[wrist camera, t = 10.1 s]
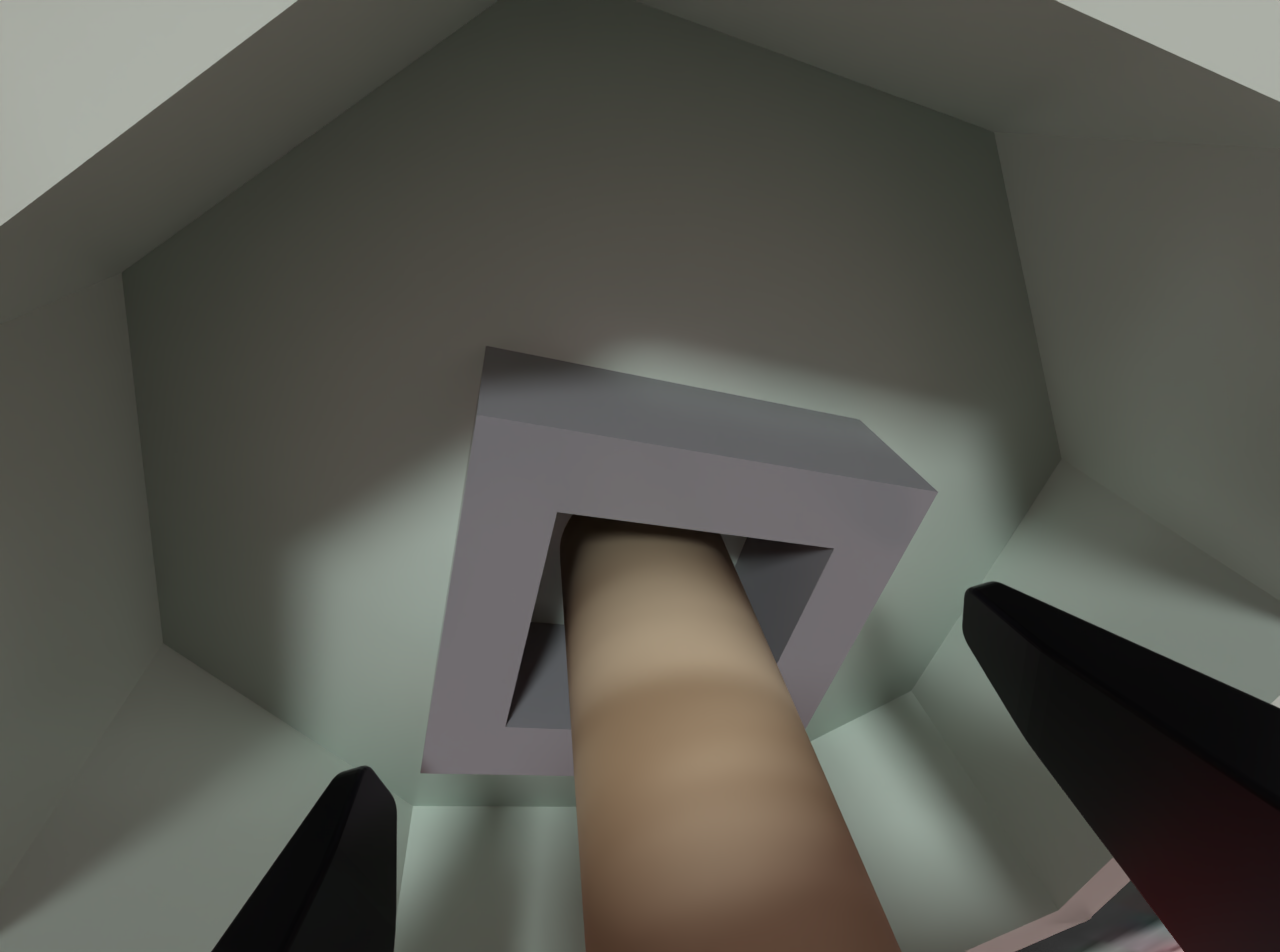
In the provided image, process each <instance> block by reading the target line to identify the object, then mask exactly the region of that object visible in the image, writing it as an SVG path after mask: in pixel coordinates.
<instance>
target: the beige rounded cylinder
mask: <svg viewBox="0 0 1280 952" xmlns="http://www.w3.org/2000/svg"><path fill="white" fill-rule="evenodd" d="M560 566H561V581H562V596H563V612H564V627H565V642H566V658H567V673H568V688H569V704H570V719H571V734H572V750H573V765H574V780H575V796H576V811H577V826H578V842H579V857H580V873H581V888H582V903H583V919H584V934H585V949H586V952H901V949H900V947H899V945H898V942H897V940H896V938H895V936H894V933H893V931H892V929H891V926H890V924H889V922H888V919H887V917H886V915H885V913H884V910H883V908H882V906H881V903H880V901H879V899H878V896H877V894H876V892H875V889H874V887H873V885H872V883H871V880H870V878H869V876H868V873H867V871H866V869H865V866H864V864H863V862H862V859H861V857H860V855H859V853H858V850H857V848H856V846H855V843H854V841H853V839H852V836H851V834H850V832H849V829H848V827H847V825H846V823H845V820H844V818H843V816H842V813H841V811H840V809H839V806H838V804H837V802H836V800H835V797H834V795H833V793H832V790H831V788H830V786H829V783H828V781H827V779H826V776H825V774H824V772H823V770H822V767H821V765H820V763H819V760H818V758H817V756H816V753H815V751H814V749H813V746H812V744H811V742H810V740H809V737H808V735H807V733H806V730H805V728H804V726H803V723H802V721H801V719H800V717H799V714H798V712H797V710H796V707H795V705H794V703H793V700H792V698H791V696H790V693H789V691H788V689H787V687H786V684H785V682H784V680H783V677H782V675H781V673H780V670H779V668H778V666H777V663H776V661H775V659H774V657H773V654H772V652H771V650H770V647H769V645H768V643H767V640H766V638H765V636H764V634H763V631H762V629H761V627H760V624H759V622H758V620H757V617H756V615H755V613H754V610H753V608H752V606H751V604H750V601H749V599H748V597H747V594H746V592H745V590H744V587H743V585H742V583H741V580H740V578H739V576H738V574H737V571H736V569H735V567H734V564H733V562H732V560H731V557H730V555H729V553H728V550H727V548H726V546H725V544H724V541H723V539H722V537H721V534H720V533H712V532H705V531H697V530H690V529H682V528H674V527H667V526H659V525H652V524H644V523H636V522H629V521H621V520H614V519H606V518H598V517H591V516H583V515H576V514H573V515H572V516H571V518H570V519H569V521H568V523H567V525H566V527H565V528H564V531H563V534H562V537H561V542H560Z"/></svg>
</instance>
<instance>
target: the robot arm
mask: <svg viewBox="0 0 1280 952" xmlns="http://www.w3.org/2000/svg"><path fill="white" fill-rule="evenodd" d="M962 631H963V635H964V638H965V641H966V643H967V645H968V646H969V648H970V650H971V651H972V653H973V655H974V656H975V658H976V660H977V661H978V663H979V665H980V666H981V668H982V669H983V671H984V673H985V674H986V676H987V678H988V679H989V681H990V683H991V684H992V686H993V688H994V689H995V691H996V693H997V694H998V696H999V698H1000V699H1001V701H1002V703H1003V704H1004V706H1005V708H1006V709H1007V711H1008V713H1009V714H1010V716H1011V718H1012V719H1013V721H1014V723H1015V724H1016V726H1017V727H1018V729H1019V730H1020V732H1021V734H1022V735H1023V737H1024V738H1025V740H1026V741H1027V743H1028V744H1029V745H1030V747H1031V748H1032V750H1033V751H1034V752H1035V754H1036V755H1037V756H1038V758H1039V759H1040V760H1041V762H1042V763H1043V764H1044V766H1045V767H1046V768H1047V770H1048V771H1049V772H1050V774H1051V775H1052V776H1053V778H1054V779H1055V780H1056V782H1057V783H1058V784H1059V786H1060V787H1061V788H1062V790H1063V791H1064V792H1065V794H1066V795H1067V796H1068V798H1069V799H1070V800H1071V802H1072V803H1073V804H1074V806H1075V807H1076V808H1077V810H1078V811H1079V812H1080V814H1081V815H1082V816H1083V818H1084V819H1085V820H1086V822H1087V823H1088V824H1089V826H1090V827H1091V828H1092V830H1093V831H1094V832H1095V834H1096V835H1097V836H1098V838H1099V839H1100V840H1101V842H1102V843H1103V844H1104V846H1105V847H1106V848H1107V850H1108V851H1109V852H1110V854H1111V855H1112V856H1113V858H1114V859H1115V860H1116V862H1117V863H1118V864H1119V866H1120V867H1121V868H1122V870H1123V871H1124V872H1125V874H1126V875H1127V876H1128V878H1129V879H1130V880H1131V882H1132V883H1133V884H1134V886H1135V887H1136V888H1137V890H1138V891H1139V892H1140V894H1141V895H1142V896H1143V898H1144V899H1145V900H1146V902H1147V903H1148V904H1149V906H1150V907H1151V908H1152V910H1153V911H1154V912H1155V914H1156V915H1157V916H1158V918H1159V919H1160V920H1161V922H1162V923H1163V924H1164V926H1165V927H1166V928H1167V930H1168V931H1169V932H1170V934H1171V935H1172V936H1173V938H1174V939H1175V940H1176V942H1177V943H1178V944H1179V946H1180V947H1181V948H1182V950H1183V951H1184V952H1280V708H1279V707H1277V706H1274V705H1272V704H1270V703H1268V702H1265V701H1263V700H1261V699H1259V698H1256V697H1254V696H1252V695H1250V694H1248V693H1245V692H1243V691H1241V690H1239V689H1236V688H1234V687H1232V686H1230V685H1228V684H1225V683H1223V682H1221V681H1219V680H1216V679H1214V678H1212V677H1210V676H1207V675H1205V674H1203V673H1201V672H1199V671H1196V670H1194V669H1192V668H1190V667H1187V666H1185V665H1183V664H1181V663H1179V662H1176V661H1174V660H1172V659H1170V658H1167V657H1165V656H1163V655H1161V654H1158V653H1156V652H1154V651H1152V650H1150V649H1147V648H1145V647H1143V646H1141V645H1138V644H1136V643H1134V642H1132V641H1130V640H1127V639H1125V638H1123V637H1121V636H1118V635H1116V634H1114V633H1112V632H1109V631H1107V630H1105V629H1103V628H1101V627H1098V626H1096V625H1094V624H1092V623H1089V622H1087V621H1085V620H1083V619H1081V618H1078V617H1076V616H1074V615H1072V614H1069V613H1067V612H1065V611H1063V610H1060V609H1058V608H1056V607H1054V606H1052V605H1049V604H1047V603H1045V602H1043V601H1040V600H1038V599H1036V598H1034V597H1032V596H1029V595H1027V594H1025V593H1023V592H1020V591H1018V590H1016V589H1014V588H1011V587H1009V586H1007V585H1005V584H1003V583H1000V582H996V581H990V582H986V583H982V584H979V585H975V586H972V587H969V588H968V589H967V590H966V592H965V594H964V604H963V619H962ZM396 906H397V807H396V803H395V800H394V797H393V795H392V794H391V793H390V791H389V790H388V789H387V787H386V786H385V785H384V783H383V782H382V781H381V779H380V778H379V777H378V776H377V774H376V773H375V772H374V770H373V769H372V768H371V767H369V766H366V765H364V766H359V767H356V768H352V769H349V770H346V771H343V772H340V773H339V774H337V775H336V776H335V777H334V778H333V779H332V781H331V782H330V783H329V785H328V786H327V788H326V789H325V790H324V792H323V793H322V795H321V796H320V798H319V799H318V800H317V802H316V803H315V805H314V806H313V807H312V809H311V810H310V812H309V813H308V815H307V816H306V817H305V819H304V820H303V822H302V823H301V825H300V826H299V827H298V829H297V830H296V832H295V833H294V834H293V836H292V837H291V839H290V840H289V842H288V843H287V844H286V846H285V847H284V849H283V850H282V851H281V853H280V854H279V856H278V857H277V859H276V860H275V861H274V863H273V864H272V866H271V867H270V869H269V870H268V871H267V873H266V874H265V876H264V877H263V878H262V880H261V881H260V883H259V884H258V886H257V887H256V888H255V890H254V891H253V893H252V894H251V896H250V897H249V898H248V900H247V901H246V903H245V904H244V905H243V907H242V908H241V910H240V911H239V913H238V914H237V915H236V917H235V918H234V920H233V921H232V923H231V924H230V925H229V927H228V928H227V930H226V931H225V932H224V934H223V935H222V937H221V938H220V940H219V941H218V942H217V944H216V945H215V947H214V948H213V949H212V951H211V952H394V945H395V933H396Z"/></svg>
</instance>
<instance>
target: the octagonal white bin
mask: <svg viewBox="0 0 1280 952" xmlns="http://www.w3.org/2000/svg"><path fill="white" fill-rule="evenodd" d="M573 514H576V515H583V516H591V517H598V518H606V519H614V520H621V521H629V522H636V523H644V524H652V525H659V526H667V527H674V528H682V529H690V530H697V531H705V532H712V533H720V534H721V537H722V539H723V541H724V544H725V546H726V548H727V550H728V553H729V555H730V557H731V560H732V562H733V564H734V567H735V569H736V571H737V574H738V576H739V578H740V580H741V583H742V585H743V587H744V590H745V592H746V594H747V597H748V599H749V601H750V604H751V606H752V608H753V610H754V613H755V615H756V617H757V620H758V622H759V624H760V627H761V629H762V631H763V634H764V636H765V638H766V640H767V643H768V645H769V647H770V650H771V652H772V654H773V657H774V659H775V661H776V663H777V666H778V668H779V670H780V673H781V675H782V677H783V680H784V682H785V684H786V687H787V689H788V691H789V693H790V696H791V698H792V700H793V703H794V705H795V707H796V710H797V712H798V714H799V717H800V719H801V721H802V723H803V726H804V728H805V730H806V733H807V735H808V737H809V740H810V742H811V744H812V746H813V749H814V751H815V753H816V756H817V758H818V760H819V763H820V765H821V767H822V770H823V772H824V774H825V776H826V779H827V781H828V783H829V786H830V788H831V790H832V793H833V795H834V797H835V800H836V802H837V804H838V806H839V809H840V811H841V813H842V816H843V818H844V820H845V823H846V825H847V827H848V829H849V832H850V834H851V836H852V839H853V841H854V843H855V846H856V848H857V850H858V853H859V855H860V857H861V859H862V862H863V864H864V866H865V869H866V871H867V873H868V876H869V878H870V880H871V883H872V885H873V887H874V889H875V892H876V894H877V896H878V899H879V901H880V903H881V906H882V908H883V910H884V913H885V915H886V917H887V919H888V922H889V924H890V926H891V929H892V931H893V933H894V936H895V938H896V940H897V942H898V945H899V947H900V949H901V952H1015V951H1017V950H1020V949H1022V948H1024V947H1027V946H1029V945H1031V944H1033V943H1036V942H1038V941H1040V940H1043V939H1045V938H1047V937H1050V936H1052V935H1054V934H1057V933H1059V932H1061V931H1063V930H1066V929H1068V928H1070V927H1073V926H1075V925H1077V924H1080V923H1082V922H1086V921H1087V920H1089V919H1091V916H1092V915H1094V914H1095V913H1096V912H1097V911H1098V910H1099V909H1100V908H1101V907H1102V906H1103V905H1104V904H1105V903H1107V902H1108V901H1109V900H1110V899H1111V898H1112V897H1113V896H1114V895H1115V894H1116V893H1117V892H1118V891H1119V890H1121V889H1122V888H1123V887H1124V886H1125V885H1126V884H1127V883H1128V882H1129V881H1130V879H1129V878H1128V876H1127V875H1126V874H1125V872H1124V871H1123V870H1122V868H1121V867H1120V866H1119V864H1118V863H1117V862H1116V860H1115V859H1114V858H1113V856H1112V855H1111V854H1110V852H1109V851H1108V850H1107V848H1106V847H1105V846H1104V844H1103V843H1102V842H1101V840H1100V839H1099V838H1098V836H1097V835H1096V834H1095V832H1094V831H1093V830H1092V828H1091V827H1090V826H1089V824H1088V823H1087V822H1086V820H1085V819H1084V818H1083V816H1082V815H1081V814H1080V812H1079V811H1078V810H1077V808H1076V807H1075V806H1074V804H1073V803H1072V802H1071V800H1070V799H1069V798H1068V796H1067V795H1066V794H1065V792H1064V791H1063V790H1062V788H1061V787H1060V786H1059V784H1058V783H1057V782H1056V780H1055V779H1054V778H1053V776H1052V775H1051V774H1050V772H1049V771H1048V770H1047V768H1046V767H1045V766H1044V764H1043V763H1042V762H1041V760H1040V759H1039V758H1038V756H1037V755H1036V754H1035V752H1034V751H1033V750H1032V748H1031V747H1030V745H1029V744H1028V743H1027V741H1026V740H1025V738H1024V737H1023V735H1022V734H1021V732H1020V730H1019V729H1018V727H1017V726H1016V724H1015V723H1014V721H1013V719H1012V718H1011V716H1010V714H1009V713H1008V711H1007V709H1006V708H1005V706H1004V704H1003V703H1002V701H1001V699H1000V698H999V696H998V694H997V693H996V691H995V689H994V688H993V686H992V684H991V683H990V681H989V679H988V678H987V676H986V674H985V673H984V671H983V669H982V668H981V666H980V665H979V663H978V661H977V660H976V658H975V656H974V655H973V653H972V651H971V650H970V648H969V646H968V645H967V643H966V641H965V638H964V635H963V631H962V619H963V604H964V594H965V592H966V590H967V589H968V588H969V587H972V586H975V585H979V584H982V583H986V582H990V581H996V582H1000V583H1003V584H1005V585H1007V586H1009V587H1011V588H1014V589H1016V590H1018V591H1020V592H1023V593H1025V594H1027V595H1029V596H1032V597H1034V598H1036V599H1038V600H1040V601H1043V602H1045V603H1047V604H1049V605H1052V606H1054V607H1056V608H1058V609H1060V610H1063V611H1065V612H1067V613H1069V614H1072V615H1074V616H1076V617H1078V618H1081V619H1083V620H1085V621H1087V622H1089V623H1092V624H1094V625H1096V626H1098V627H1101V628H1103V629H1105V630H1107V631H1109V632H1112V633H1114V634H1116V635H1118V636H1121V637H1123V638H1125V639H1127V640H1130V641H1132V642H1134V643H1136V644H1138V645H1141V646H1143V647H1145V648H1147V649H1150V650H1152V651H1154V652H1156V653H1158V654H1161V655H1163V656H1165V657H1167V658H1170V659H1172V660H1174V661H1176V662H1179V663H1181V664H1183V665H1185V666H1187V667H1190V668H1192V669H1194V670H1196V671H1199V672H1201V673H1203V674H1205V675H1207V676H1210V677H1212V678H1214V679H1216V680H1219V681H1221V682H1223V683H1225V684H1228V685H1230V686H1232V687H1234V688H1236V689H1239V690H1241V691H1243V692H1245V693H1248V694H1250V695H1252V696H1254V697H1256V698H1259V699H1261V700H1263V701H1265V702H1268V703H1270V704H1272V705H1274V706H1277V707H1279V708H1280V0H0V952H211V951H212V949H213V948H214V947H215V945H216V944H217V942H218V941H219V940H220V938H221V937H222V935H223V934H224V932H225V931H226V930H227V928H228V927H229V925H230V924H231V923H232V921H233V920H234V918H235V917H236V915H237V914H238V913H239V911H240V910H241V908H242V907H243V905H244V904H245V903H246V901H247V900H248V898H249V897H250V896H251V894H252V893H253V891H254V890H255V888H256V887H257V886H258V884H259V883H260V881H261V880H262V878H263V877H264V876H265V874H266V873H267V871H268V870H269V869H270V867H271V866H272V864H273V863H274V861H275V860H276V859H277V857H278V856H279V854H280V853H281V851H282V850H283V849H284V847H285V846H286V844H287V843H288V842H289V840H290V839H291V837H292V836H293V834H294V833H295V832H296V830H297V829H298V827H299V826H300V825H301V823H302V822H303V820H304V819H305V817H306V816H307V815H308V813H309V812H310V810H311V809H312V807H313V806H314V805H315V803H316V802H317V800H318V799H319V798H320V796H321V795H322V793H323V792H324V790H325V789H326V788H327V786H328V785H329V783H330V782H331V781H332V779H333V778H334V777H335V776H336V775H337V774H339V773H340V772H343V771H346V770H349V769H352V768H356V767H359V766H364V765H366V766H369V767H371V768H372V769H373V770H374V772H375V773H376V774H377V776H378V777H379V778H380V779H381V781H382V782H383V783H384V785H385V786H386V787H387V789H388V790H389V791H390V793H391V794H392V795H393V797H394V800H395V803H396V807H397V906H396V933H395V945H394V952H586V949H585V934H584V919H583V903H582V888H581V873H580V857H579V842H578V826H577V811H576V796H575V780H574V765H573V750H572V734H571V719H570V704H569V688H568V673H567V658H566V642H565V627H564V612H563V596H562V581H561V566H560V542H561V537H562V534H563V531H564V528H565V527H566V525H567V523H568V521H569V519H570V518H571V516H572V515H573Z"/></svg>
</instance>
